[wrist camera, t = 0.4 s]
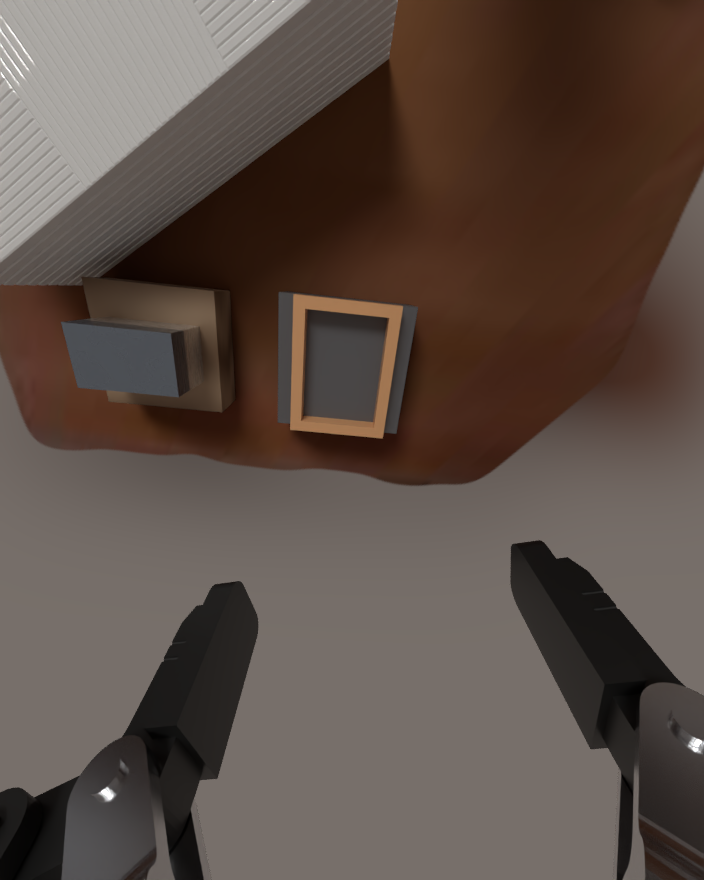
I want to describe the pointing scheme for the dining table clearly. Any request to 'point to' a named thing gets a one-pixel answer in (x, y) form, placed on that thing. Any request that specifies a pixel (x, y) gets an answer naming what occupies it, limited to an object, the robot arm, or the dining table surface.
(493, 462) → the dining table surface
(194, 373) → the housing base plate
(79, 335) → the block
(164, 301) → the walnut stand
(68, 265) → the long white block
